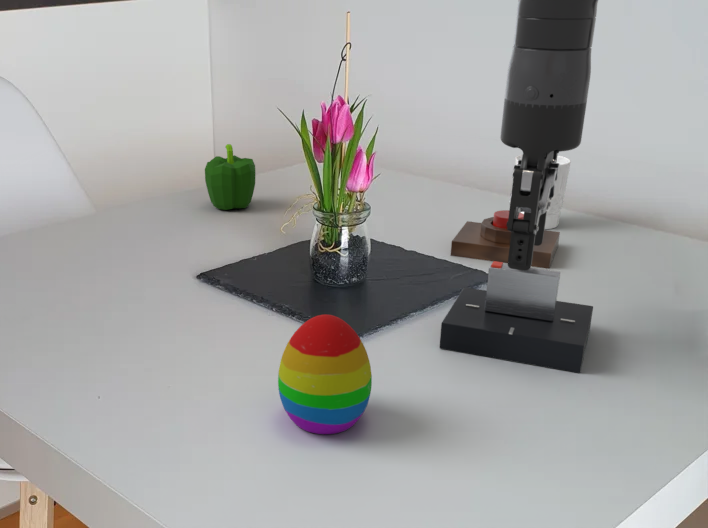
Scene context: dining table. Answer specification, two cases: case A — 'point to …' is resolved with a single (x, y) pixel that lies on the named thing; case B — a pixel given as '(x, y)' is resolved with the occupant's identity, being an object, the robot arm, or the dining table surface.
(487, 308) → the grey rectangular box
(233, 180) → the bell pepper
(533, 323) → the card holder base
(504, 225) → the button
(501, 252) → the button block
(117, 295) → the dining table surface
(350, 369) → the decorative egg
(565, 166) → the white cup
